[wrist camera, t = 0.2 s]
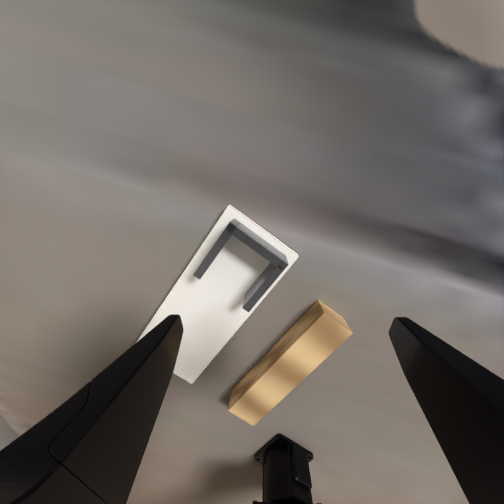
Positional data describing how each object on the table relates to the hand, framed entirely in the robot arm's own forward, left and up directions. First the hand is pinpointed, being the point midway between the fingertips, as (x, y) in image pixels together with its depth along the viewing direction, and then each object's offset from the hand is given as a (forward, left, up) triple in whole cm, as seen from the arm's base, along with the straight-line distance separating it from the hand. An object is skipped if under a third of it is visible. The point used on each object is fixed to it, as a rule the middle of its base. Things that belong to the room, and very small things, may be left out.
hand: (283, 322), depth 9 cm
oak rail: (-11, -10, -15) cm, 22 cm away
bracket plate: (-10, +2, -15) cm, 18 cm away
